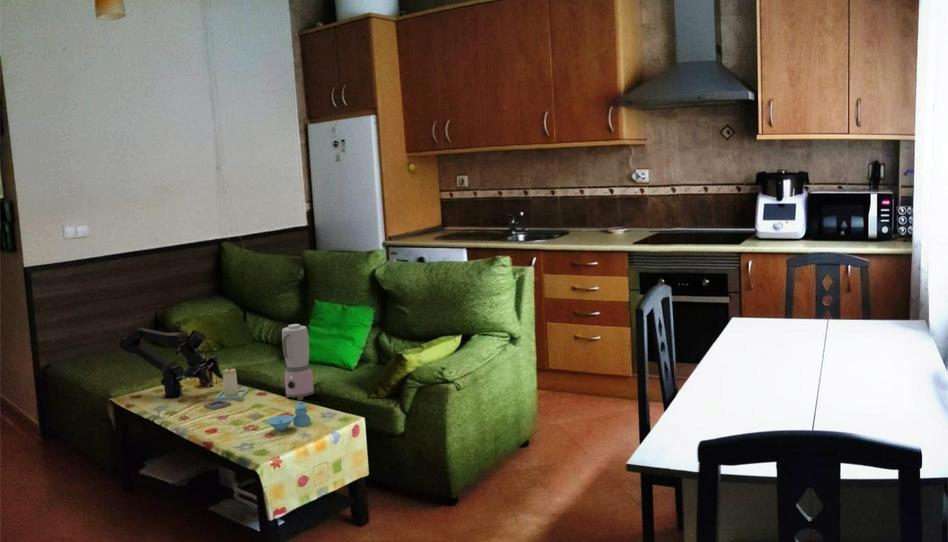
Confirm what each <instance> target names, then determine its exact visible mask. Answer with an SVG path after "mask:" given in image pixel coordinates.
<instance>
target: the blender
mask: <svg viewBox="0 0 948 542" xmlns="http://www.w3.org/2000/svg"><path fill="white" fill-rule="evenodd" d="M281 342H282V352H283V357H284V361H285V364H286V370H285V371H284V387H285V396H286V397H285V398H286V399H289V398H297V400H299V401H302V400H304V397H307V396H311V395H313V394H314V393H315V389H314V376H313V375H314V374H313V371H312V369H311V367H310V365H309V363H310V362H309V358H310V340H309V332H308V327H307V326H305V325H301V324H300V323H293V324H288V325H287V327H284V328H282V329H281Z"/></svg>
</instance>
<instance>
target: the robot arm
mask: <svg viewBox="0 0 948 542" xmlns="http://www.w3.org/2000/svg"><path fill="white" fill-rule="evenodd" d="M143 339H145V340H150V341H155V342H159V343H163V344H164V345H165V346H167V347H170V348H176V350H175V351H176V352H175V356H179V355H182V357H184V359H186V364H187V366H188V367H187V368H186V369H185V368H183V366H182V364H180V363H178V362H177V361H175V360H173V361H170V362H168V361H166V359H164V358H162V357H161V356H160V355H158V354H156V353H154V352H153V351H152V350H150V349H148V348H147V347H145V345H143V343H142V340H143ZM206 339H207V337H206V335H205V334H204V333H203V332H201V331H197V329H193V330H192V331H191V332H190V334H189V335H187V334H186V335H185V334H184V333H183V332H164V331H158V330H154V329H150V328H149V329H148V328H145V327H140V328H137V329H136V330H135V331H134V332H132V333H131V334H129V335H127V336H125V337H123V338H121V339H120V341H119V342H118V344H119V345H118V346H119V349H120V350H121V351H124V352H126V353H128V354H132V355H136V356H138V357H139V358H141V359H142V360H143V361H145V362H147V363H148V364H150V365H151V366H153V367H154V368H155V369H157V370H159V371H160V373H161V375H162V376H163V377H162V379H160V384H161V385H162V386H164V387H163V389H164V396H163V398H164V399H173V398H179V397H180V396H182V395H183V387H182V384H181V381H183V377H184V378H185V379H186V378H188V379H190V380H192V379H195V378H196V379H198V380H199V379H201V380H203V381H205V382H206V383H208V384H209V383H210V380H209V378H208V376H207V375H206V373H205V371H204V370H203V368H206V369H208V371H212V373H213V374H214V375H215V377H218V379H221V378H223V375H222V373H221V372H222V371H221V370H220V367H219V366H220V365H219V360H220V359H219V358H218V357H217V356H216V355H215V356H214V355H212V356H211V357H209V358H207V357H205V359H204V358H203V357H204V356H203V357H202V351H198V349H199V348H201V347H200V346H202V345H203V343H204V342H205V341H206ZM178 347H179V348H178ZM196 349H197V351H196ZM206 361H207V362H206ZM181 394H182V395H181Z"/></svg>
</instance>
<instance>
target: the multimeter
mask: <svg viewBox="0 0 948 542" xmlns="http://www.w3.org/2000/svg"><path fill="white" fill-rule="evenodd" d="M205 347H207V348H208V350H209V351H210V353H211V356H214V355H213V352H212V350H211V349H210V347H209V346H207V345H204V346H203V347H202V345H200V347H199V348H201V349H202V351H201V356H202V357H203V358H204V359H205V358H206V356H205ZM195 350H196V351H197V352H198V348H197V349H195ZM206 362H207V361H206ZM203 370H204V371H205V373H206V375H207V376H208V378H209V380H210V383H209V384H208V383H206V382H205V381H203V380H201V379H199V378H198V383H199V384H198V386H200V385H207V386H210V385H213V384H214V383H213V382H214V375H213V374H214V373H213V372H212V371H208V369H206V368H203ZM194 380H197V378H194ZM217 381H218V380H217V377H215V382H216V383H215V384H216V385H218V382H217ZM207 386H206V387H207ZM213 386H214V385H213Z"/></svg>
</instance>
